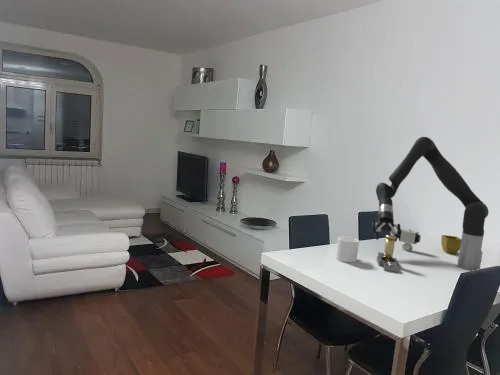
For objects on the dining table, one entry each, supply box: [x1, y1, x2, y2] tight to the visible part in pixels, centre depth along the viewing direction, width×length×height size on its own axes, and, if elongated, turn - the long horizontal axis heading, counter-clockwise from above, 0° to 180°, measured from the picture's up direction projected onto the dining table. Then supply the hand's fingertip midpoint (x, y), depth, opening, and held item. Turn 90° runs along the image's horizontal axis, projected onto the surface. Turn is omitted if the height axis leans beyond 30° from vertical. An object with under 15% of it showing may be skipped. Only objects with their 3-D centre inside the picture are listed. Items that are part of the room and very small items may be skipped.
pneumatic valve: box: [397, 229, 422, 252], centre depth 221 cm, size 6×12×12 cm, turn 54°
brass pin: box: [383, 234, 396, 262], centre depth 189 cm, size 5×5×14 cm
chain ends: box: [376, 252, 400, 273], centre depth 189 cm, size 9×23×3 cm, turn 169°
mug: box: [335, 236, 360, 264], centre depth 191 cm, size 13×10×10 cm
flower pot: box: [441, 234, 462, 255], centre depth 224 cm, size 9×9×9 cm
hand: (386, 240), depth 199 cm, fingers open, 8 cm apart
